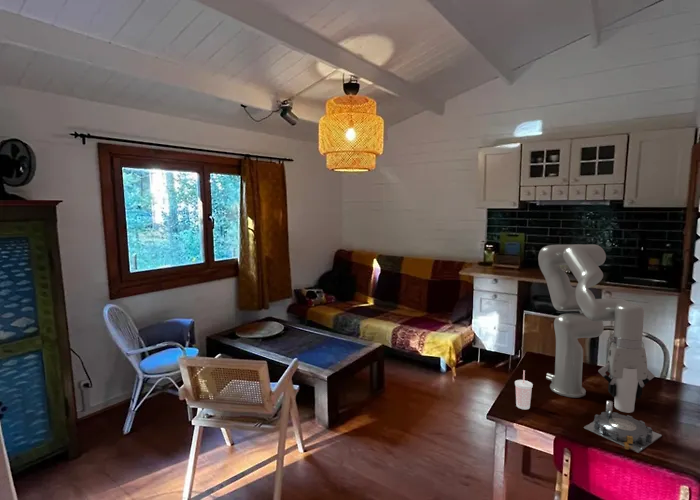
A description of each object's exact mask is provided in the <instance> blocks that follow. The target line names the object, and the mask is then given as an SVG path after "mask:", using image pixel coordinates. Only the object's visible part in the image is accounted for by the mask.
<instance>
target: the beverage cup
mask: <svg viewBox="0 0 700 500" xmlns="http://www.w3.org/2000/svg"><path fill="white" fill-rule="evenodd" d="M522 371H523V374H522V379H517V380H515V381H514V386H515V404H516V405H515V407H517V408H518V409H521V410H529V409H530V408H531V400H532V390H533V389H532V388H533V385H534V384H533V382H531V381H528V380H525V379H526V378H525V376H526V374H525V373H526V370H524V369H523V370H522Z"/></svg>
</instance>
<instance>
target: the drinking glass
mask: <svg viewBox="0 0 700 500" xmlns="http://www.w3.org/2000/svg"><path fill="white" fill-rule="evenodd" d="M616 379H617V380H616V382H615V385H616V397H613V398H614V400H613V401H614V402H613V403H614V404H613V405H614V406H613V407H614V408H615V409H616V410H617V411H620V412H622V413H628V414H629V413H630V414H631V413H634V412H635V403H636V392H637V386H638V380H637V369H628V368H623V376H622V378H621V379H620V378H616Z"/></svg>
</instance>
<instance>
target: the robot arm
mask: <svg viewBox="0 0 700 500" xmlns="http://www.w3.org/2000/svg"><path fill="white" fill-rule="evenodd" d="M537 256H538V257H537V259H538V266H539V270H540V271H541V273H542V275H543V277H544V280H545V282H546V285H547V289H548V293H549V295H550V300H551V303H552V306H553V308H554V309H555V310H556V311H559V312H574V313H563V314H559V315H557V316H556V317H555V318H554V321H553V328H554V333H555V335H554V336H555V358H554V359H555V360H554V361H555V362H554V374H553V373H549V372H547V373H546V376H545V380H548V381H551V383H550V384H549V388H550V390H551V392H554V393H555V394H558V395H560V396H562V397H563V396H564V397H567V398H573V399H574V398H575V399H576V398H582V397H585V396H586V394H587V393H586V392H587V391H586V389H585V388H584V387H583V385H582V383H583V365H584V364H583V361H584V359H583V358H584V348H583V347H582V344H581V343H580V342H579V340H578V339H581V338H582V339H584V338H585V339H586V338H588V339H589V338H597V337H601V335H602V334H603V332H604V322H614V323H613V325H614V326H613V335H612V337H608V342H609V343H611V344H610V347H609V350H608V355H607V359H606V360H607V361H606V364H605V365H603V366H602V367H600V368H599V369H598V371H597V372H598V373H599V374H600V375H601V376H602V377H603V378H604V379H605V380H606V381H607V384H608V385H607V387H608V388H607V390H608V393H609V394H610V395H611V396H612V398H614V397H616V385H615V382H616V380H617V379H616V378H620V379H621V378H622V376H623V368H628V369H637V380H638V386H637V392H636V398H637V400H641V396H642V395H643V388H644V387H645V385H646V384H648V383H649V382H650V381H651V380H652V379H654V378H655V374H654V373H652V372H651V371H650V370H649V369H648V359H647V354H646V353H647V352H646V349H645V348H644V347H643V332H644V318H645V317H644V316H645V315H644V313H645V310H644V308H643V307H642V306H640V305H638V304H635V303H631V302H629V301H627V300H626V299H624V298H617V297H616V298H596V297H595V295H594V293H593V291H592V290H590V288H592V287H595V286H596V285H597V284H599V283H601V281H602V279H604V273H603V271H602V270H601V268H600V267H599V266H601V265H602V266H603V264H604V263H605V261H606V259H607V254H606V252H605V250H604V248H602V246H600V245H598V244H594V243H593V244H589V243H588V244H581V243H580V244H579V243H577V244H549V245H545V246H543V247H542V248H541V249H540V250H539V252H538V255H537ZM560 266H568V268H569V270H570V271H571V273H572V274H573V277H575V279H576V280H577V281H576V282H578V283H577V285H576V287H574V286H572V283H571V280H570V278H569V275H568V274H567V273H566V272H565V271H564V270H563V268H561V267H560ZM575 312H577V313H575ZM578 312H579V313H578ZM606 372H607V373H609V375H608V374H607V373H606ZM636 398H635V399H636Z"/></svg>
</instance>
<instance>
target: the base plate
mask: <svg viewBox="0 0 700 500" xmlns="http://www.w3.org/2000/svg"><path fill="white" fill-rule="evenodd" d="M583 428H584V429H585V430H587V431H590V432H591V433H594V434H596V435H598V436H601V437H602V438H604V439H607V440H609V441H611V442H614V443H616V444H618V445H619V446H620V445H621V446H622V447H624V449H625V450H632V451H633V452H636V453H641V452H642V451H643V450H645V449H646V448H647V447H649V446H650V445H651V444H653V443H655V442H656V441H658V439H660V438H662V437H663V436H662V434H661V433H659V432H658V433H657V432H655V431H653V430H652V434H653V437H652V441H648V440H647V441H646V444H641V443H634V442H633V444H629V443H628V442H626V441H622V440H619V439H617V440H615V439H612V437H611V436H609V435H607V434H602V433H601V432H599V430H600V429H599V428H598V427H595V426H594V421H592V422H590V423H589V424H586V425H584V427H583Z"/></svg>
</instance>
